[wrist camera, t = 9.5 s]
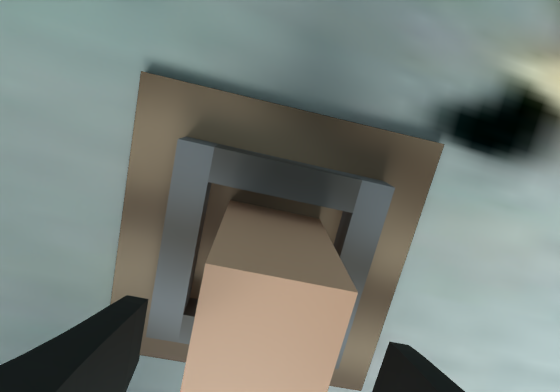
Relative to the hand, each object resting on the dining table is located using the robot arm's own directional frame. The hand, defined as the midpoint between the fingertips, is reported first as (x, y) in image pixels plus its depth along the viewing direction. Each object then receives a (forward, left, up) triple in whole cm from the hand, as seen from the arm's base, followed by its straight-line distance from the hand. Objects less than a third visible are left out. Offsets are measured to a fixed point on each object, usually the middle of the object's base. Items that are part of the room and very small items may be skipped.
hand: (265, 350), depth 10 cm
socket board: (0, 0, -8) cm, 8 cm away
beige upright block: (0, 0, -7) cm, 7 cm away
